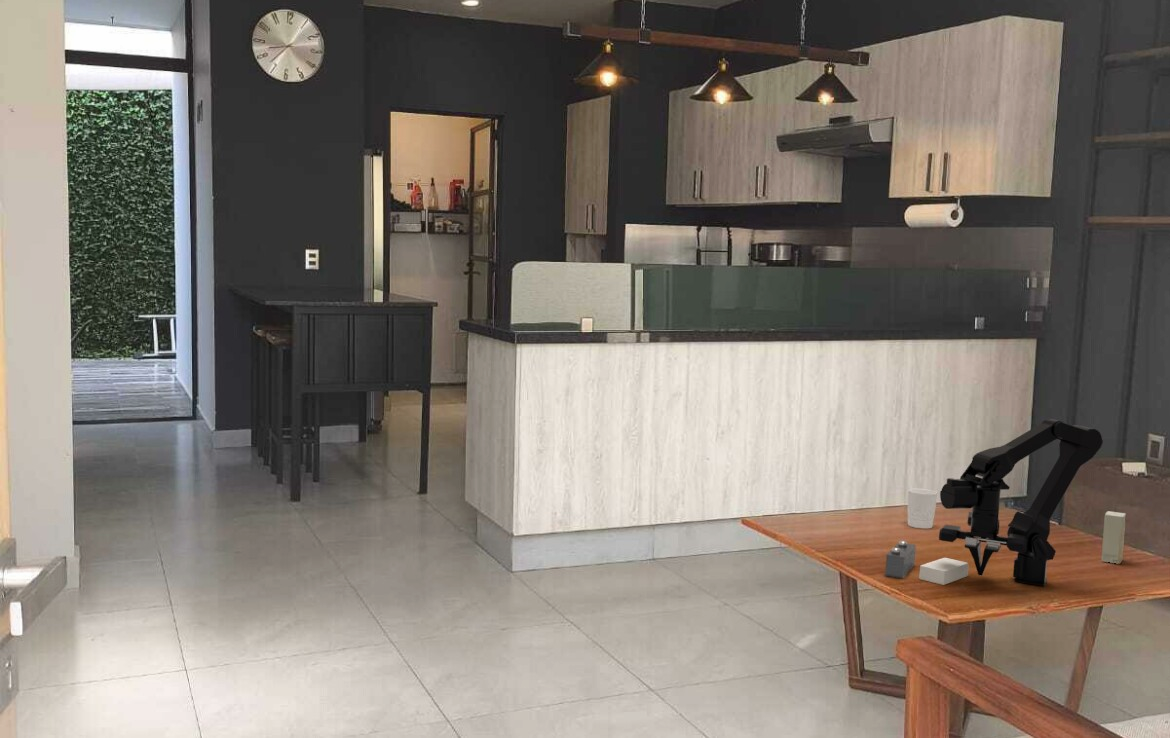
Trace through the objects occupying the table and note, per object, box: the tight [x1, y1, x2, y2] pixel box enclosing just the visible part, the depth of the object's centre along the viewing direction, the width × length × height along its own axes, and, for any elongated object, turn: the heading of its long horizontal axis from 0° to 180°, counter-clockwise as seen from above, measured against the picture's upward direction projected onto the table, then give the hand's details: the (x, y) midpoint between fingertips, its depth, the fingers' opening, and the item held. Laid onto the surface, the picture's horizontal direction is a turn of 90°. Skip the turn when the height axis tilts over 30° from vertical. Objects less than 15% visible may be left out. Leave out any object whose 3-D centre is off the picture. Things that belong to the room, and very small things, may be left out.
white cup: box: [906, 487, 938, 530], centre depth 307 cm, size 8×8×10 cm
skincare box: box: [1100, 510, 1127, 565], centre depth 276 cm, size 6×4×12 cm
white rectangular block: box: [918, 557, 970, 586], centre depth 254 cm, size 6×12×4 cm, turn 135°
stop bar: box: [884, 540, 917, 579], centre depth 259 cm, size 4×14×6 cm, turn 152°
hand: (980, 575), depth 250 cm, fingers closed
